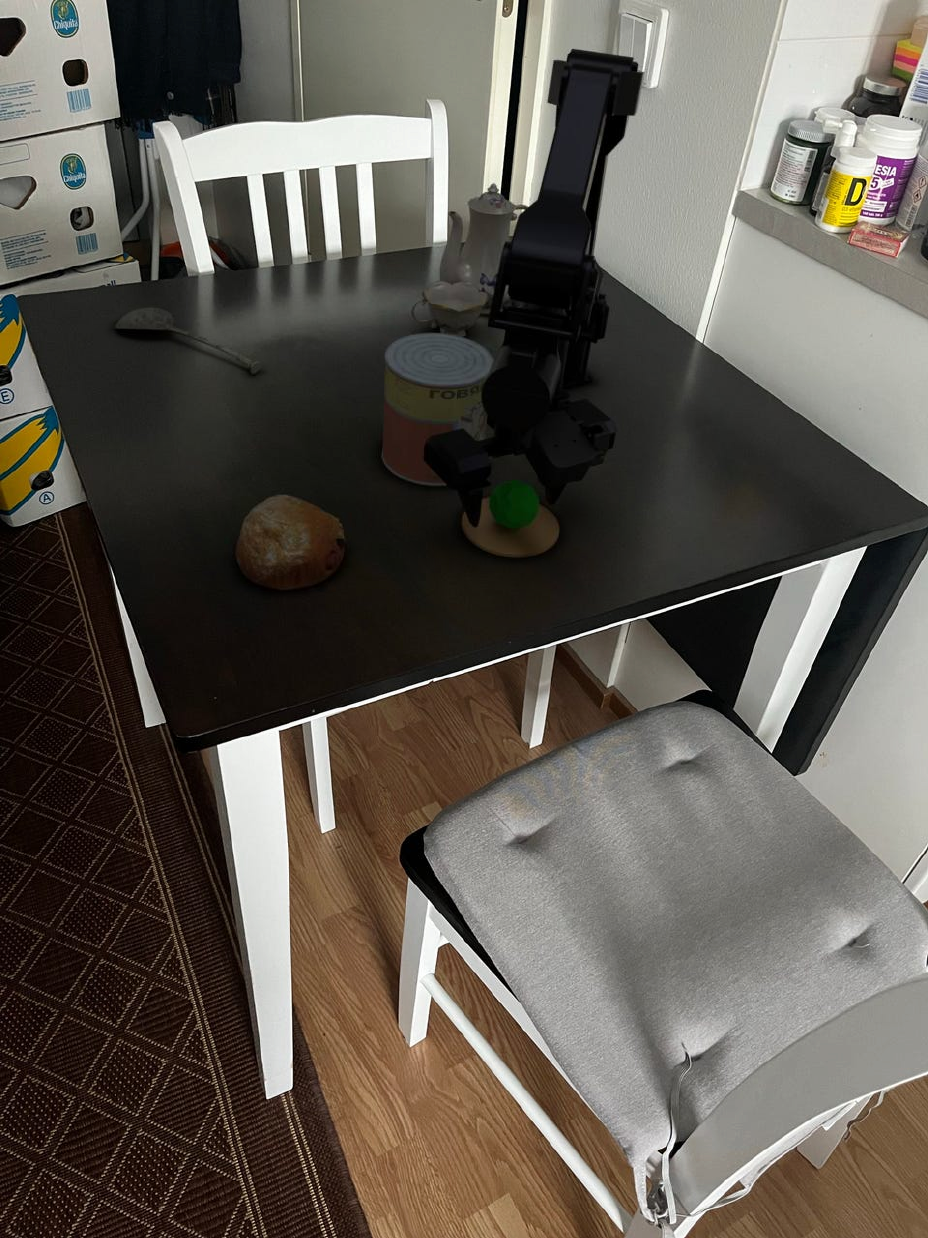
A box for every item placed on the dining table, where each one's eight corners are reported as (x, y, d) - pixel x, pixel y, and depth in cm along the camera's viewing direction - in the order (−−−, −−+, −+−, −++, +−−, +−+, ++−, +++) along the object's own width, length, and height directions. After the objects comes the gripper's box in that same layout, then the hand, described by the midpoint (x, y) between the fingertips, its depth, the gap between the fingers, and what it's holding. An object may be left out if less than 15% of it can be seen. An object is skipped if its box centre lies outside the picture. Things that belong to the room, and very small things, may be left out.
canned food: (447, 498, 104) (456, 397, 96) (361, 461, 108) (362, 360, 100) (501, 453, 111) (514, 355, 103) (418, 419, 115) (424, 322, 107)
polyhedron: (477, 524, 100) (482, 485, 97) (503, 503, 103) (508, 464, 100) (519, 544, 98) (525, 505, 95) (544, 521, 101) (551, 483, 98)
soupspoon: (144, 316, 130) (106, 336, 126) (139, 292, 127) (100, 311, 123) (274, 363, 122) (239, 386, 118) (271, 338, 119) (235, 360, 115)
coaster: (524, 489, 106) (524, 486, 106) (577, 541, 100) (578, 538, 100) (443, 512, 102) (444, 509, 102) (494, 568, 96) (495, 565, 96)
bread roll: (262, 554, 100) (222, 495, 95) (355, 521, 98) (319, 458, 93) (255, 620, 93) (211, 560, 88) (355, 585, 91) (316, 522, 86)
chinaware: (443, 367, 128) (462, 245, 116) (374, 304, 136) (385, 184, 124) (602, 323, 142) (632, 210, 130) (530, 268, 150) (553, 157, 138)
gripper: (491, 440, 81) (474, 586, 91) (667, 396, 88) (633, 534, 99) (425, 377, 87) (416, 520, 98) (594, 341, 95) (569, 477, 106)
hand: (512, 513), depth 100 cm, fingers open, 9 cm apart
